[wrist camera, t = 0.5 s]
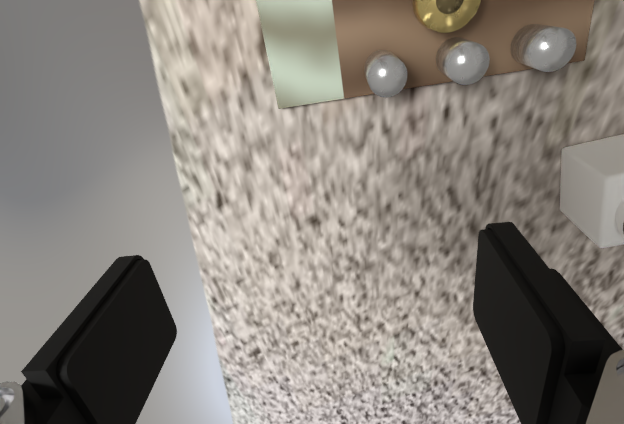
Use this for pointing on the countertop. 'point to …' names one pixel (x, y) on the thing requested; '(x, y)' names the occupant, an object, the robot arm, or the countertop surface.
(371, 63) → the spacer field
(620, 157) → the medicine bottle
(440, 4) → the brass knob
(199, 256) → the countertop surface
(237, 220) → the countertop surface
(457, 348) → the countertop surface
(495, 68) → the board
